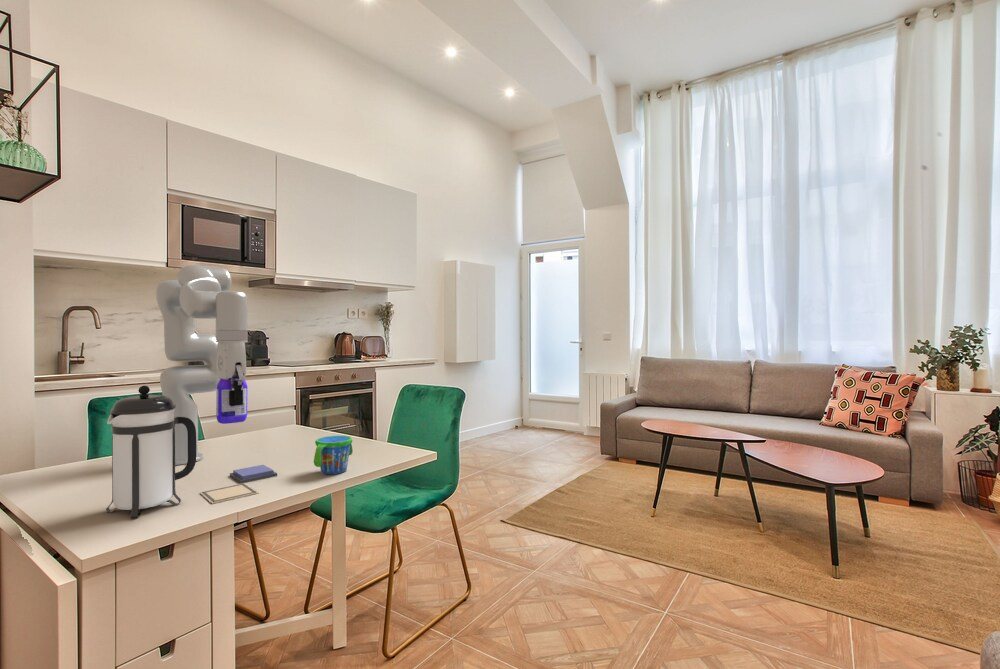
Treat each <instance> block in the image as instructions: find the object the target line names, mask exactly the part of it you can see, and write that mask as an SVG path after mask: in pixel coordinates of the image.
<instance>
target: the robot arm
mask: <svg viewBox="0 0 1000 669" xmlns="http://www.w3.org/2000/svg"><path fill="white" fill-rule="evenodd" d="M232 282H233V281H232V276H231V274H230V272H229V271H228V269H226V268H224V267H222V266H221V267H220V266H215V265H214V266H212V265H202V264H188V265H184V266H183V267H181V268H180V269H179V270H178V272H177V275H176V279H167V280H163V281H161V282H159V283H158V284H157V286H156V289H155V290H156V291H155V294H156V295H155V296H156V302H157V306H158V309H159V311H160V313H161V315H162V319H163V334H164V336H163V340H164V342H163V343H164V355H165V358H166V359H167V360H168V361H170V362H176V363H177V362H178V363H180V362H181V363H182V362H183V363H185V362H186V363H187V362H203V364H197V365H195V364H194V365H192V364H191V365H175V366H169V367H167V368H165V369H163V370H162V371H161V373H160V376H159V384H160V389H161V395H162V396H167V397H169V398H171V399H172V401H173V403H174V404H176V408H175V410H174V418H176V417H186V418H189V419H191V420H192V421H193V423H194V425H195V428H196V462H199V461H201V460H203V458H204V453H202V452H199V409H198V405H197V403H196V401H194V399H192V398H191V397H190V395H194V394H202V393H211V392H216V391H217V385H218V383H219V381H220V379H223V380H228V379H229V380H230V388H231V391H229V405H230V406H237V405H243V381H244V379H245V378H246V377H247V356H246V354H247V352H246V351H247V350H246V343H248V338H249V336H248V331H249V330H248V295H247V293H245V292H243V291H238V290H237V291H235V290H231V287H232ZM195 319H201V320H202V319H203V320H204V319H206V320H207V319H212V320H213V319H214V320H215V334H213V333H209V332H208V333H207V332H206V333H203V332H202V333H201V332H200V333H197V332H196V328H195ZM232 377H237V378H234V379H232ZM187 461H188V433H187V428H186V426H185V425H184V424H175V466H178V465H180V466H181V465H187Z"/></svg>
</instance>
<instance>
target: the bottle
mask: <svg viewBox="0 0 1000 669" xmlns="http://www.w3.org/2000/svg"><path fill="white" fill-rule="evenodd" d="M234 378H237V377H232V379H234ZM229 391H231V388H230V380H229V379H228V380H223V379H220V381H219V383H218V385H217V390H216V391H215V392H216V404H215V406H216V408H215V409H216V411H215V414H216V420H217V421H216V422H218V423H219V424H224V425H225V424H238V423H243V422H245V421H246V420H247V418H248V383H247V381H246V379H245V378H244V381H243V405H237V406H230V405H229Z"/></svg>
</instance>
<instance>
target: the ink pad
mask: <svg viewBox="0 0 1000 669" xmlns="http://www.w3.org/2000/svg"><path fill="white" fill-rule="evenodd" d="M277 476H278V473H277V472H276V471H275V470H274V469H272V468H270V467H269V466H267V465H265V464H259V465H253V466H248V467H244V468H238V469H234V470H233V471H232V472H229V477H230V478H232V479H234V480H235V481H236V480H237V482H238V483H239V484H243V483H245V484H246V483H250V482H254V481H259V480H263V479H269V478H274V477H277Z"/></svg>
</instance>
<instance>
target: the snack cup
mask: <svg viewBox="0 0 1000 669" xmlns="http://www.w3.org/2000/svg"><path fill="white" fill-rule="evenodd" d="M314 443H315V446H316V448H315V452H314V456H313V464H314V466H315V467H317V468H320V472H321V473H322V474H325V475H337V474H341V473H344V472H345V471H347V469H348V463H349V459H350V458H349V457H350V456H351V455H352V454H353V445H352V443H353V437H351V436H349V435H348V436H347V435H328V436H327V435H326V436H322V437H318V438H316V439H315V441H314Z"/></svg>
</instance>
